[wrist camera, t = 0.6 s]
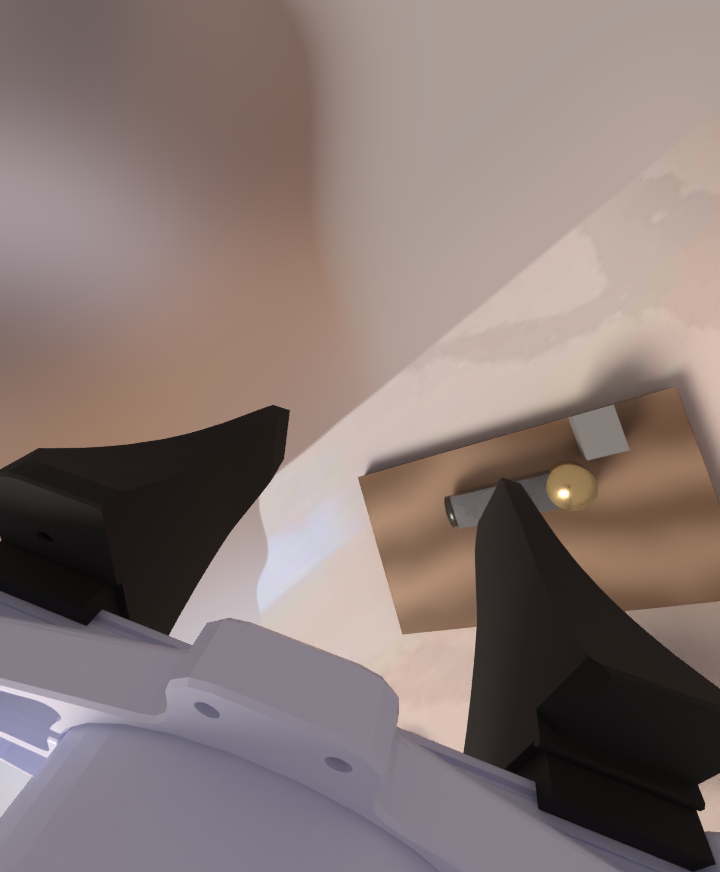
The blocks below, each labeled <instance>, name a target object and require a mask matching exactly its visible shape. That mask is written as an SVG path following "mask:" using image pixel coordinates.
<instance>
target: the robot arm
mask: <svg viewBox="0 0 720 872" xmlns="http://www.w3.org/2000/svg"><path fill="white" fill-rule="evenodd" d="M289 412H290V410H287V409H284V408H281V407H278V406H275V405H272V406H268V407H265V408H263V409H260V410H257V411H254V412H252V413H249V414H247V415H244V416H241V417H238V418H236V419H233V420H230V421H228V422H225V423H222V424H218V425H215V426H213V427H209V428H206V429H203V430H199V431H196V432H192V433H189V434H185V435H180V436H176V437H171V438H167V439H161V440H155V441H148V442H142V443H135V444H128V445H118V446H106V447H90V448H38V449H36V450H34V451H33V452H31V453H29V454H27V455H25V456H24V457H22V458H20V459H18V460H16V461H15V462H13V463H11V464H9V465H7V466H6V467H4V468H2V469H0V537H1V540H2V541H0V760H1V761H3V762H5V763H7V764H9V765H11V766H12V767H14V768H16V769H18V770H20V771H21V772H23V773H25V774H27V775H28V776H30V777H32V778H31V779H30V781H29V782H28V783H27V784H26V786H25V787H24V788H23V790H22V791H21V792H20V794H19V795H18V796H17V797H16V798H15V800H14V801H13V802H12V804H11V805H10V806H9V807H8V809H7V810H6V811H5V812H4V814H3V815H2V816H1V818H0V872H720V832H709V831H707V832H704V830H703V827H702V825H701V822H700V819H699V816H698V814H697V811H696V810H698V811H702V810H704V809H705V802H704V799H703V797H702V794H701V792H700V789H699V786H698V784H700V783H702V782H704V781H706V780H707V779H709V778H711V777H713V776H715V775H717V774H719V773H720V689H719V688H718V687H717V686H715V685H714V684H713V683H711V682H710V681H709V680H707V679H706V678H705V677H703V676H702V675H701V674H699V673H698V672H697V671H695V670H694V669H693V668H691V667H690V666H689V665H687V664H686V663H685V662H683V661H682V660H681V659H679V658H678V657H677V656H675V655H674V654H673V653H672V652H670V651H669V650H668V649H667V648H666V647H664V646H663V645H662V644H661V643H660V642H658V641H657V640H656V639H655V638H654V637H652V636H651V635H650V634H649V633H648V632H646V631H645V630H644V629H643V628H642V627H641V626H640V625H638V624H637V623H636V622H635V621H634V620H633V619H632V618H631V617H629V616H628V615H627V614H626V613H625V612H624V611H623V610H622V609H621V608H620V607H619V606H618V605H617V604H616V603H615V602H614V601H613V600H612V599H611V598H610V597H609V596H608V595H607V594H606V593H605V592H604V591H603V590H602V589H601V588H600V587H599V586H598V585H597V584H596V583H595V582H594V581H593V580H592V579H591V577H590V576H589V575H588V574H587V573H586V572H585V571H584V570H583V569H582V568H581V566H580V565H579V564H578V563H577V562H576V560H575V559H574V558H573V557H572V555H571V554H570V553H569V552H568V550H567V549H566V548H565V547H564V545H563V544H562V543H561V541H560V540H559V539H558V537H557V536H556V535H555V533H554V532H553V530H552V529H551V528H550V526H549V525H548V523H547V522H546V520H545V519H544V517H543V516H542V514H541V513H540V512H539V510H538V508H537V507H536V505H535V504H534V502H533V501H532V499H531V498H530V496H529V495H528V493H527V492H526V490H525V489H524V487H523V486H522V485H521V483H518V482H514V481H511V480H508V479H505V478H502V477H501V479H500V481H499V483H498V485H497V487H496V488H495V490H494V492H493V494H492V496H491V498H490V500H489V502H488V504H487V506H486V508H485V510H484V512H483V514H482V516H481V518H480V520H479V522H478V525H477V533H476V542H475V578H476V604H477V631H476V644H475V657H474V668H473V679H472V689H471V698H470V707H469V715H468V724H467V732H466V739H465V746H464V753H461V752H459V751H456V750H454V749H451V748H449V747H446V746H444V745H441V744H439V743H436V742H434V741H431V740H429V739H426V738H423V737H421V736H418V735H416V734H413V733H411V732H408V731H406V730H403V729H401V728H398V727H397V722H398V715H399V697H398V696H397V694H396V693H395V692H394V690H393V689H392V688H391V687H390V686H389V684H388V683H387V682H386V681H385V680H384V679H383V677H382V676H380V675H378V674H376V673H374V672H373V671H371V670H369V669H367V668H365V667H364V666H362V665H360V664H358V663H355V662H352V661H350V660H347V659H345V658H342V657H339V656H337V655H334V654H332V653H329V652H326V651H324V650H321V649H319V648H316V647H313V646H311V645H308V644H306V643H303V642H300V641H298V640H295V639H292V638H290V637H287V636H285V635H282V634H279V633H277V632H274V631H272V630H269V629H266V628H264V627H261V626H259V625H256V624H253V623H251V622H246V621H241V620H237V619H232V618H227V619H222V620H218V621H214V622H209V623H207V624H206V626H205V627H204V628H203V630H202V632H201V633H200V635H199V636H198V638H197V639H196V641H195V642H194V644H193V645H190V644H187V643H185V642H182V641H180V640H177V639H175V638H172V637H170V636H169V634H170V632H171V630H172V628H173V627H174V625H175V623H176V621H177V619H178V617H179V616H180V614H181V612H182V610H183V609H184V607H185V605H186V603H187V602H188V600H189V598H190V596H191V595H192V593H193V591H194V589H195V588H196V586H197V584H198V583H199V581H200V579H201V578H202V576H203V574H204V573H205V571H206V569H207V568H208V566H209V564H210V563H211V561H212V559H213V558H214V556H215V555H216V553H217V552H218V550H219V548H220V547H221V545H222V544H223V542H224V541H225V539H226V538H227V536H228V535H229V533H230V532H231V531H232V529H233V528H234V527H235V525H236V524H237V523H238V522H239V520H240V519H241V518H242V517H243V515H244V514H245V513H246V512H247V510H248V509H249V508H250V507H251V505H252V504H253V503H254V502H255V500H256V499H257V498H258V497H259V495H260V494H261V493H262V492H263V490H264V489H265V488H266V487H267V485H268V484H269V483H270V481H271V480H272V478H273V477H274V475H275V473H276V472H277V470H278V468H279V466H280V465H281V463H282V461H283V459H284V454H285V446H286V437H287V429H288V421H289Z"/></svg>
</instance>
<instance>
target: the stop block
mask: <svg viewBox="0 0 720 872" xmlns="http://www.w3.org/2000/svg"><path fill="white" fill-rule="evenodd" d="M568 419H569V422H570V425H571V428H572V431H573V433H574V436H575V439H576V442H577V445H578V448H579V451H580V454H581V457H582V458H584V459H586V460H592V459H596V458H600V457H604V456H608V455H612V454H616V453H621V452H625V451H629V450H630V449H629V446H628V443H627V441H626V438H625V435H624V432H623V429H622V427H621V424H620V421H619V418H618V415H617V412H616V410H615V407H614V405H610V406H606V407H602V408H599V409H595V410H592V411H588V412H585V413H581V414H578V415H574V416H571V417H568Z"/></svg>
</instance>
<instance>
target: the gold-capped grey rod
mask: <svg viewBox="0 0 720 872" xmlns="http://www.w3.org/2000/svg"><path fill="white" fill-rule="evenodd" d="M509 480H511V481H514V482H518V483H521V485H522V486H523V487H524V489H525V490H526V492H527V493H528V495H529V496H530V498H531V499H532V501H533V502H534V504H535V505H536V507H537V508H538V510H539V512H540V513H541V512H546V511H550V510H555V509H560V508H562V509H565V510H569V511H578V510H582V509H585V508H587V507H589V506H590V505H591V504H592V503H593V502H594V501H595V499H596V497H597V494H598V484H597V481H596V479H595V477H594V476H593V475H592V474H591V473H590V472H589V471H588V470H586V469H585V468H584V467H582V466H581V465H580V464H578V463H573V462H561V463H558V464H556V465H554V466H552V467H551V468H550V469H549V470H546V471H542V472H537V473H533V474H529V475H525V476H521V477H517V478H513V479H509ZM498 483H499V482H496V483H492V484H488V485H484V486H480V487H476V488H471V489H467V490H463V491H459V492H455V493H454V494H453V495H450V496H446V497H445V498H444V504H445V510H446V514H447V517H448V520H449V522H450V524H451V526H452V527H457V526H459V529H462V528H467V527H472V526H477V525H478V522H479V520H480V518H481V516H482V514H483V512H484V510H485V508H486V506H487V504H488V502H489V500H490V498H491V496H492V494H493V492H494V490H495V488H496V487H497V485H498Z"/></svg>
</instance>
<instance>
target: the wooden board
mask: <svg viewBox="0 0 720 872" xmlns="http://www.w3.org/2000/svg"><path fill="white" fill-rule="evenodd" d="M612 405H614V407H615V410H616V412H617V415H618V418H619V421H620V424H621V427H622V429H623V432H624V435H625V438H626V441H627V443H628V446H629V449H630V450H629V451H625V452H621V453H616V454H612V455H608V456H604V457H600V458H596V459H592V460H586V459H584V458H582V457H581V454H580V451H579V448H578V445H577V442H576V439H575V436H574V433H573V431H572V428H571V425H570V422H569V419H568V417H567V418H563V419H560V420H556V421H553V422H549V423H546V424H542V425H539V426H535V427H532V428H528V429H525V430H521V431H518V432H514V433H511V434H507V435H504V436H500V437H497V438H493V439H490V440H486V441H483V442H479V443H476V444H472V445H469V446H465V447H462V448H458V449H455V450H451V451H448V452H444V453H441V454H437V455H434V456H430V457H427V458H423V459H420V460H416V461H413V462H409V463H406V464H402V465H399V466H395V467H392V468H388V469H385V470H381V471H378V472H374V473H371V474H367V475H364V476H361V477H358V479H359V483H360V486H361V490H362V493H363V497H364V500H365V504H366V507H367V511H368V514H369V518H370V521H371V525H372V528H373V532H374V535H375V539H376V542H377V546H378V549H379V553H380V556H381V560H382V564H383V567H384V571H385V574H386V578H387V581H388V585H389V588H390V592H391V595H392V599H393V602H394V606H395V609H396V613H397V616H398V620H399V623H400V627H401V630H402V634H411V633H421V632H430V631H440V630H449V629H459V628H468V627H477V604H476V578H475V542H476V533H477V526H472V527H467V528H462V529H459V526H457V527H452V526H451V524H450V522H449V520H448V517H447V514H446V510H445V504H444V498H445V497H446V496H450V495H453V494H454V493H455V492H459V491H463V490H467V489H471V488H476V487H480V486H484V485H488V484H492V483H496V482H499V481H500V479H501V477H502V478H505V479H508V480H509V479H513V478H517V477H521V476H525V475H529V474H533V473H537V472H542V471H546V470H549V469H550V468H551V467H552V466H554V465H556V464H558V463H561V462H573V463H578V464H580V465H581V466H582V467H584V468H585V469H586V470H588V471H589V472H590V473H591V474H592V475H593V476H594V477H595V479H596V481H597V484H598V494H597V497H596V499H595V501H594V502H593V503H592V504H591V505H590V506H589V507H587V508H585V509H582V510H578V511H569V510H565V509H562V508H560V509H555V510H550V511H546V512H541V514H542V516H543V517H544V519H545V520H546V522H547V523H548V525H549V526H550V528H551V529H552V530H553V532H554V533H555V535H556V536H557V537H558V539H559V540H560V541H561V543H562V544H563V545H564V547H565V548H566V549H567V550H568V552H569V553H570V554H571V555H572V557H573V558H574V559H575V560H576V562H577V563H578V564H579V565H580V566H581V568H582V569H583V570H584V571H585V572H586V573H587V574H588V575H589V576H590V577H591V579H592V580H593V581H594V582H595V583H596V584H597V585H598V586H599V587H600V588H601V589H602V590H603V591H604V592H605V593H606V594H607V595H608V596H609V597H610V598H611V599H612V600H613V601H614V602H615V603H616V604H617V605H618V606H619V607H620V608H621V609H622V610H623V611H630V610H639V609H649V608H658V607H668V606H677V605H687V604H696V603H706V602H715V601H720V504H719V501H718V498H717V496H716V493H715V490H714V487H713V485H712V482H711V479H710V477H709V474H708V471H707V469H706V466H705V463H704V461H703V458H702V455H701V453H700V450H699V447H698V444H697V442H696V439H695V436H694V434H693V431H692V428H691V426H690V423H689V420H688V418H687V415H686V412H685V410H684V407H683V404H682V401H681V399H680V396H679V393H678V391H677V388H676V387H672V388H668V389H665V390H661V391H658V392H654V393H651V394H647V395H644V396H640V397H637V398H633V399H630V400H626V401H623V402H619V403H616V404H612ZM609 406H610V405H609ZM605 407H606V406H605ZM598 409H599V408H598ZM591 411H592V410H591ZM584 413H585V412H584ZM577 415H578V414H577ZM570 417H571V416H570Z"/></svg>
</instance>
